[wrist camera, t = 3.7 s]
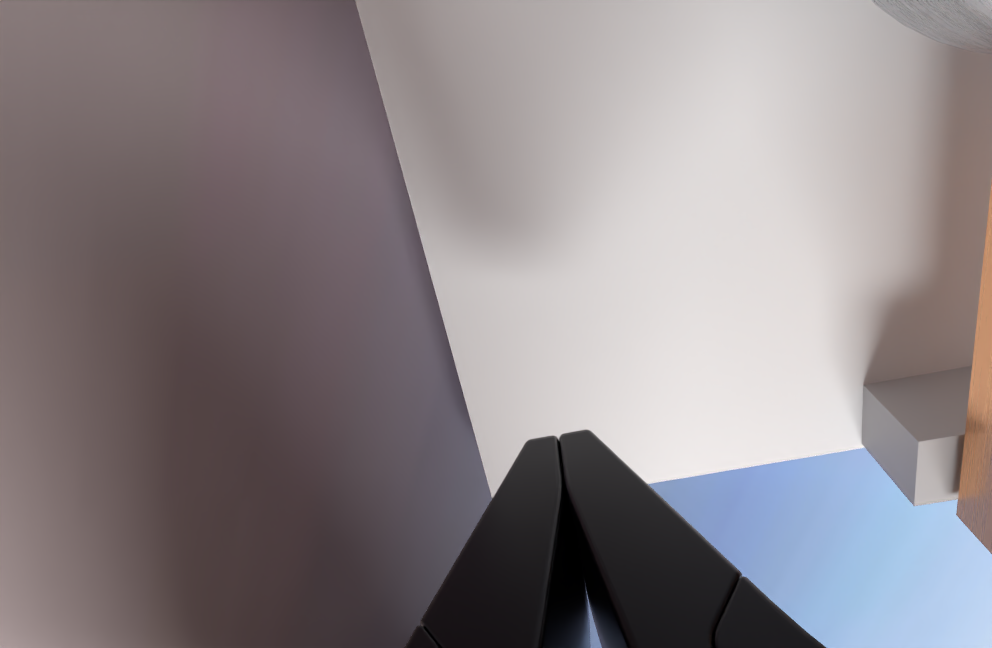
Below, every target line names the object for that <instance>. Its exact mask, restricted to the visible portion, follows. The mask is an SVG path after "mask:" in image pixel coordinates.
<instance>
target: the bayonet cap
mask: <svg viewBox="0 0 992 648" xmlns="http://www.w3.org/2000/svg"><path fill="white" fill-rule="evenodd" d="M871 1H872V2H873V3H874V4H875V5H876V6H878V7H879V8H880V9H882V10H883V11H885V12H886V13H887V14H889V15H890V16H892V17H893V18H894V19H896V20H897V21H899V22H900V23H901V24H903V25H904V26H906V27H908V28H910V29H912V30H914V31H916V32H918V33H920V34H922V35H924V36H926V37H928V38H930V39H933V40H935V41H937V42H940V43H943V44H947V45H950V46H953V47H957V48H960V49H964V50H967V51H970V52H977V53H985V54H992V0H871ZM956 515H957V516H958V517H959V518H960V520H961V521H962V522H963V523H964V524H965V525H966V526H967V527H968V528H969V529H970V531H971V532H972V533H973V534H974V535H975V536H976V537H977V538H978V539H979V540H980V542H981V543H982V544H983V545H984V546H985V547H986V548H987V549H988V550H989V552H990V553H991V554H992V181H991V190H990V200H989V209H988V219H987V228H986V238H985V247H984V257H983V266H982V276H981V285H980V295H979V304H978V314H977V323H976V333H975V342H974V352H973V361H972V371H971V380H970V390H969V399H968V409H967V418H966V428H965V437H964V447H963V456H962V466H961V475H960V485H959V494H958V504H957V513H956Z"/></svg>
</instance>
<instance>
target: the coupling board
mask: <svg viewBox="0 0 992 648" xmlns="http://www.w3.org/2000/svg"><path fill="white" fill-rule="evenodd" d="M355 2H356V6H357V9H358V13H359V16H360V20H361V24H362V27H363V31H364V35H365V38H366V42H367V46H368V49H369V53H370V56H371V60H372V64H373V67H374V71H375V75H376V78H377V82H378V85H379V89H380V93H381V96H382V100H383V104H384V107H385V111H386V115H387V118H388V122H389V125H390V129H391V133H392V136H393V140H394V144H395V147H396V151H397V155H398V158H399V162H400V165H401V169H402V173H403V176H404V180H405V184H406V187H407V191H408V194H409V198H410V202H411V205H412V209H413V213H414V216H415V220H416V224H417V227H418V231H419V234H420V238H421V242H422V245H423V249H424V253H425V256H426V260H427V263H428V267H429V271H430V274H431V278H432V282H433V285H434V289H435V293H436V296H437V300H438V303H439V307H440V311H441V314H442V318H443V322H444V325H445V329H446V332H447V336H448V340H449V343H450V347H451V351H452V354H453V358H454V362H455V365H456V369H457V372H458V376H459V380H460V383H461V387H462V391H463V394H464V398H465V401H466V405H467V409H468V412H469V416H470V420H471V423H472V427H473V431H474V434H475V438H476V441H477V445H478V449H479V452H480V456H481V460H482V463H483V467H484V471H485V474H486V478H487V481H488V485H489V489H490V492H491V496H492V498H493V497H494V495H495V493H496V492H497V490H498V488H499V487H500V485H501V483H502V481H503V480H504V478H505V476H506V475H507V473H508V471H509V470H510V468H511V466H512V464H513V463H514V461H515V459H516V458H517V456H518V454H519V453H520V451H521V449H522V447H523V446H524V444H525V443H526V441H528V440H529V439H534V438H540V437H546V436H552V435H554V436H556V437H557V438H558V439H559V437H560V435H561V434H563V433H569V432H574V431H580V430H585V429H587V430H590V431H592V432H593V433H594V434H595V435H596V436H597V437H598V438H599V439H600V440H601V441H602V442H603V443H604V444H605V445H606V446H608V447H609V448H610V449H611V450H612V451H613V452H614V453H615V454H616V455H617V456H618V457H619V458H620V459H621V460H622V461H623V462H625V463H626V464H627V465H628V466H629V467H630V468H631V469H632V470H633V471H634V472H635V473H636V474H637V475H638V476H639V477H640V478H641V479H643V480H644V481H645V482H646V483H647V484H650V483H656V482H662V481H668V480H674V479H680V478H686V477H692V476H698V475H704V474H710V473H716V472H722V471H728V470H734V469H740V468H746V467H752V466H758V465H764V464H770V463H776V462H782V461H788V460H794V459H800V458H806V457H812V456H817V455H823V454H829V453H835V452H841V451H847V450H853V449H859V448H866V449H867V451H868V452H869V453H870V454H871V455H872V457H873V458H874V459H875V460H876V461H877V462H878V464H879V465H880V466H881V467H882V468H883V470H884V471H885V472H886V473H887V474H888V476H889V477H890V478H891V479H892V480H893V482H894V483H895V484H896V485H897V486H898V488H899V489H900V490H901V491H902V492H903V494H904V495H905V496H906V497H907V498H908V499H909V501H910V502H911V503H912V504H913V505H914V506H918V505H925V504H931V503H937V502H944V501H950V500H956V499H958V494H959V485H960V475H961V466H962V456H963V447H964V437H965V428H966V418H967V409H968V399H969V390H970V380H971V371H972V361H973V352H974V342H975V333H976V323H977V314H978V304H979V295H980V285H981V276H982V266H983V257H984V247H985V238H986V228H987V219H988V209H989V200H990V190H991V181H992V54H985V53H977V52H970V51H967V50H964V49H960V48H957V47H953V46H950V45H947V44H943V43H940V42H937V41H935V40H933V39H930V38H928V37H926V36H924V35H922V34H920V33H918V32H916V31H914V30H912V29H910V28H908V27H906V26H904V25H903V24H901V23H900V22H899V21H897V20H896V19H894V18H893V17H892V16H890V15H889V14H887V13H886V12H885V11H883V10H882V9H880V8H879V7H878V6H876V5H875V4H874V3H873V2H872V1H871V0H355Z"/></svg>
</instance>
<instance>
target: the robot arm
mask: <svg viewBox="0 0 992 648" xmlns="http://www.w3.org/2000/svg"><path fill="white" fill-rule="evenodd" d="M586 589H587V592H586ZM587 594H588V599H589V603H590V608H591V611H592V615H593V619H594V622H595V626H596V629H597V633H598V636H599V639H600V642H601V646H602V648H826V647H825V646H824V645H822V644H821V643H820V642H818V641H817V640H816V639H815V638H813V637H812V636H811V635H810V634H808V633H807V632H806V631H805V630H804V629H803V628H801V627H800V626H799V625H798V624H797V623H796V622H795V621H794V620H792V619H791V618H790V617H789V616H788V615H787V614H786V613H785V612H783V611H782V610H781V609H780V608H779V607H778V606H777V605H776V604H774V603H773V602H772V601H771V600H770V599H769V598H768V597H767V596H766V595H765V594H764V593H763V592H761V591H760V590H759V589H758V588H757V587H756V586H755V585H754V584H753V583H752V582H751V581H750V580H749V579H748V578H747V577H742V574H741V572H740V571H739V570H738V569H737V568H736V567H735V566H734V565H733V564H732V563H730V562H729V561H728V560H727V559H726V558H725V557H724V556H723V555H722V554H721V553H720V552H719V551H718V550H717V549H716V548H715V547H714V546H712V545H711V544H710V543H709V542H708V541H707V540H706V539H705V538H704V537H703V536H702V535H701V534H700V533H699V532H698V531H697V530H695V529H694V528H693V527H692V526H691V525H690V524H689V523H688V522H687V521H686V520H685V519H684V518H683V517H682V516H681V515H680V514H679V513H677V512H676V511H675V510H674V509H673V508H672V507H671V506H670V505H669V504H668V503H667V502H666V501H665V500H664V499H663V498H662V497H661V496H659V495H658V494H657V493H656V492H655V491H654V490H653V489H652V488H651V487H650V486H649V485H648V484H647V483H646V482H645V481H644V480H643V479H641V478H640V477H639V476H638V475H637V474H636V473H635V472H634V471H633V470H632V469H631V468H630V467H629V466H628V465H627V464H626V463H625V462H623V461H622V460H621V459H620V458H619V457H618V456H617V455H616V454H615V453H614V452H613V451H612V450H611V449H610V448H609V447H608V446H606V445H605V444H604V443H603V442H602V441H601V440H600V439H599V438H598V437H597V436H596V435H595V434H594V433H593V432H592V431H590V430H587V429H585V430H580V431H574V432H569V433H563V434H561V435H560V437H559V439H558V438H557V437H556V436H554V435H552V436H546V437H540V438H534V439H529V440H528V441H526V443H525V444H524V446H523V447H522V449H521V451H520V453H519V454H518V456H517V458H516V459H515V461H514V463H513V464H512V466H511V468H510V470H509V471H508V473H507V475H506V476H505V478H504V480H503V481H502V483H501V485H500V487H499V488H498V490H497V492H496V493H495V495H494V497H493V498H492V500H491V502H490V504H489V505H488V507H487V509H486V510H485V512H484V514H483V515H482V517H481V519H480V521H479V522H478V524H477V526H476V527H475V529H474V531H473V533H472V534H471V536H470V538H469V539H468V541H467V543H466V544H465V546H464V548H463V550H462V551H461V553H460V555H459V556H458V558H457V560H456V561H455V563H454V565H453V567H452V568H451V570H450V572H449V573H448V575H447V577H446V578H445V580H444V582H443V584H442V585H441V587H440V589H439V590H438V592H437V594H436V595H435V597H434V599H433V601H432V602H431V604H430V606H429V607H428V609H427V611H426V612H425V614H424V616H423V618H422V619H421V622H420V624H421V626H417V627H416V629H415V631H414V632H413V634H412V636H411V637H410V639H409V641H408V643H407V644H406V646H405V648H590V623H589V609H588V600H587Z"/></svg>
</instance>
